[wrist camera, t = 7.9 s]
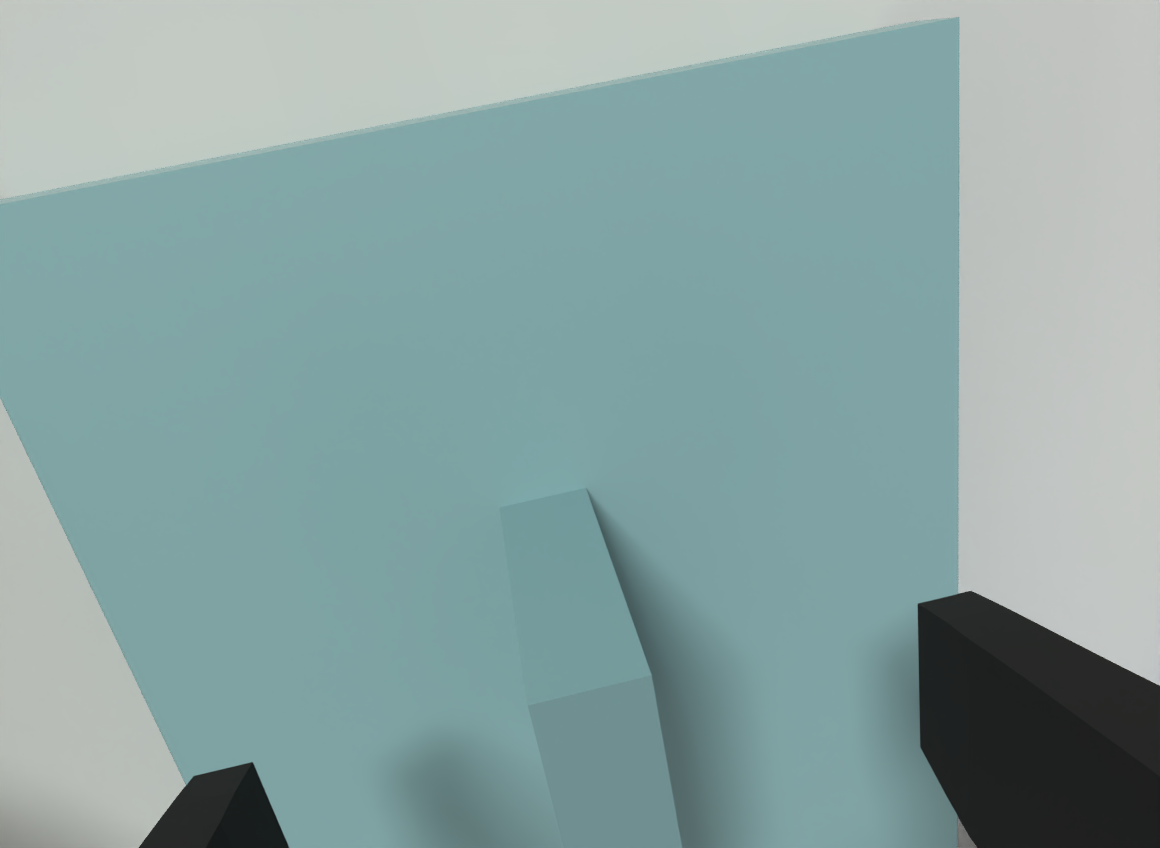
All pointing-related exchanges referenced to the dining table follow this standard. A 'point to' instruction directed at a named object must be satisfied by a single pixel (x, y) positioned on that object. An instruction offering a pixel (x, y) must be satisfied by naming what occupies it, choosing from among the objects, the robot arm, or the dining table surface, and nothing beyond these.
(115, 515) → the lid
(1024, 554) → the dining table surface
